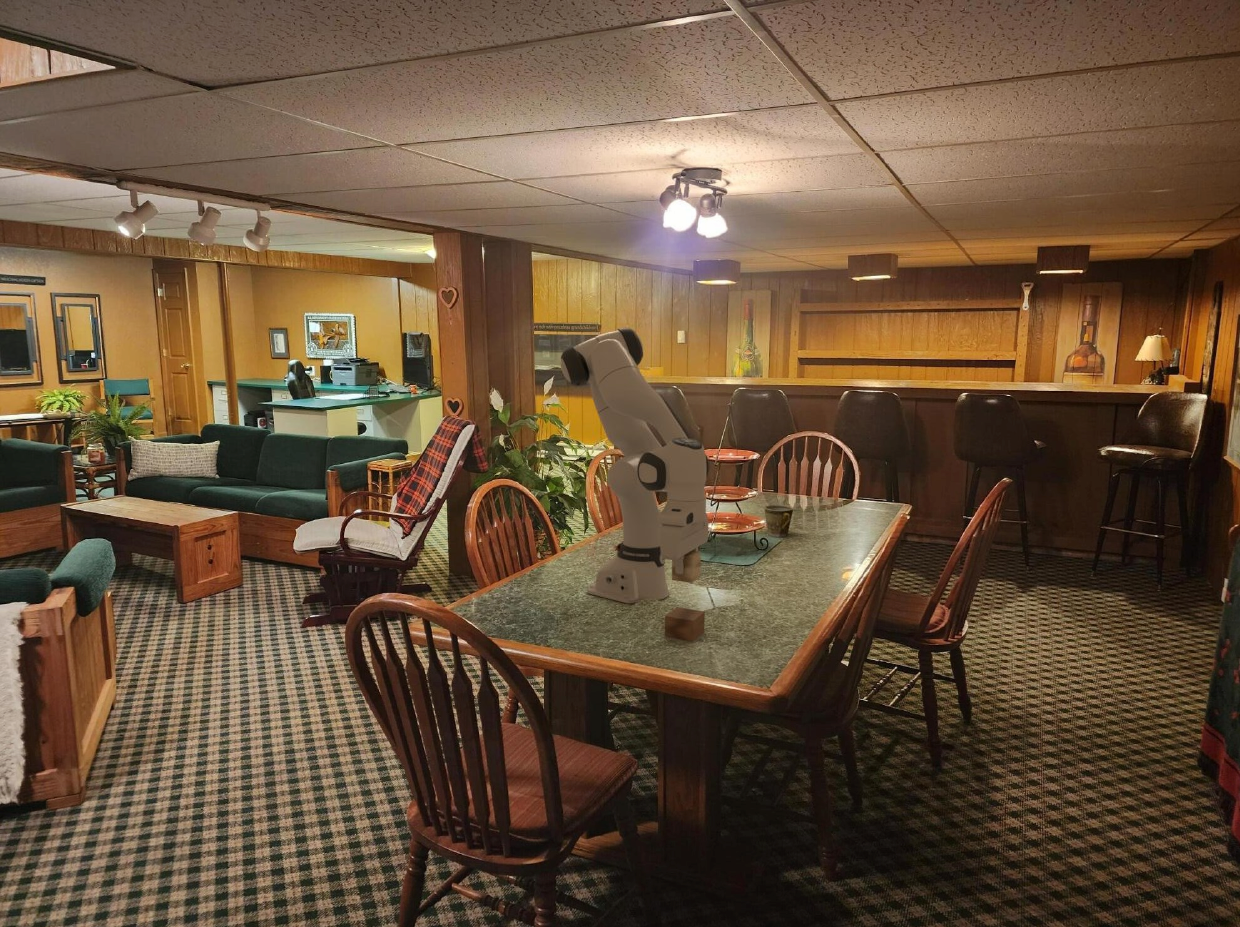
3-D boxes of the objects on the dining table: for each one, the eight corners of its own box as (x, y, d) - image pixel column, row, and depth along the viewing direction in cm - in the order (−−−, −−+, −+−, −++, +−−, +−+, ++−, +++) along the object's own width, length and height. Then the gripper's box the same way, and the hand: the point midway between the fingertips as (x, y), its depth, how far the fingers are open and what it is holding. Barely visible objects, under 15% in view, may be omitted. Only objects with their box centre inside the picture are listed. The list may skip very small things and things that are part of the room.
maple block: (671, 580, 183) (672, 554, 182) (680, 574, 187) (680, 549, 186) (692, 582, 180) (692, 557, 179) (700, 577, 185) (700, 551, 184)
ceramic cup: (758, 532, 289) (759, 505, 288) (783, 531, 292) (784, 504, 291) (776, 541, 277) (777, 513, 276) (801, 539, 280) (802, 511, 279)
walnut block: (664, 636, 184) (665, 615, 184) (676, 627, 190) (676, 606, 190) (693, 641, 181) (693, 620, 180) (704, 632, 187) (704, 611, 187)
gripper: (690, 501, 192) (689, 557, 194) (655, 517, 174) (654, 579, 176) (715, 503, 189) (714, 560, 191) (681, 520, 171) (681, 583, 173)
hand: (685, 569), depth 183 cm, fingers closed on maple block, 5 cm apart
